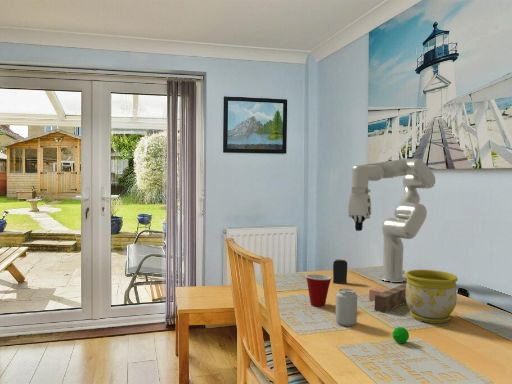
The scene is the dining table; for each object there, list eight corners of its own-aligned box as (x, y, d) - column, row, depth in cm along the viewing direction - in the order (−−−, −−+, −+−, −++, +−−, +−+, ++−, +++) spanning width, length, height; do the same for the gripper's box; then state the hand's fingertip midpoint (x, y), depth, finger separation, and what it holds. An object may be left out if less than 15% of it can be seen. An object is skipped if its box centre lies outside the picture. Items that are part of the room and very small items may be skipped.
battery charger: (346, 281, 218) (347, 259, 217) (347, 283, 214) (347, 260, 214) (332, 281, 219) (332, 258, 218) (332, 283, 215) (333, 259, 214)
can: (344, 328, 152) (345, 294, 152) (331, 321, 159) (331, 288, 159) (361, 325, 156) (362, 291, 155) (347, 318, 163) (348, 286, 162)
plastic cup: (335, 303, 181) (336, 274, 180) (324, 310, 172) (325, 280, 171) (311, 299, 187) (312, 271, 186) (300, 305, 178) (300, 276, 177)
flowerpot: (396, 317, 164) (397, 274, 164) (416, 307, 177) (417, 267, 177) (445, 330, 152) (447, 283, 151) (462, 318, 165) (464, 274, 165)
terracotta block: (376, 298, 190) (376, 287, 190) (393, 302, 185) (393, 290, 184) (369, 301, 186) (369, 289, 186) (386, 305, 180) (386, 293, 180)
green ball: (399, 346, 137) (400, 331, 137) (389, 340, 141) (389, 326, 141) (412, 344, 139) (412, 329, 139) (401, 338, 143) (401, 324, 143)
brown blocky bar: (405, 296, 193) (406, 283, 193) (414, 298, 190) (415, 284, 190) (374, 310, 173) (375, 295, 172) (384, 312, 170) (384, 297, 170)
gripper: (378, 192, 203) (377, 231, 204) (350, 190, 213) (349, 228, 214) (370, 192, 198) (369, 232, 198) (341, 191, 208) (340, 229, 209)
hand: (358, 230), depth 206 cm, fingers closed
